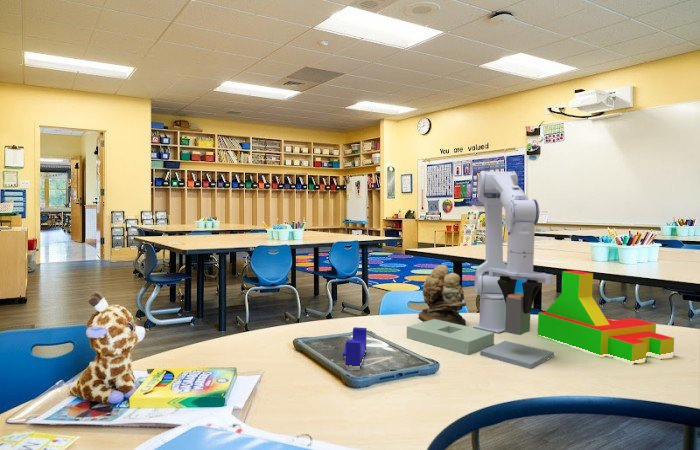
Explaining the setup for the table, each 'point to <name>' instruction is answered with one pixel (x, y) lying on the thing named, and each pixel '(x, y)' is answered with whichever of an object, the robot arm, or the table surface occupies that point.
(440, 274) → the owl figurine
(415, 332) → the socket block
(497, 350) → the mat
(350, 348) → the blue stepped block
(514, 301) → the plug
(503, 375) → the table surface
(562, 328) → the building blocks toy
